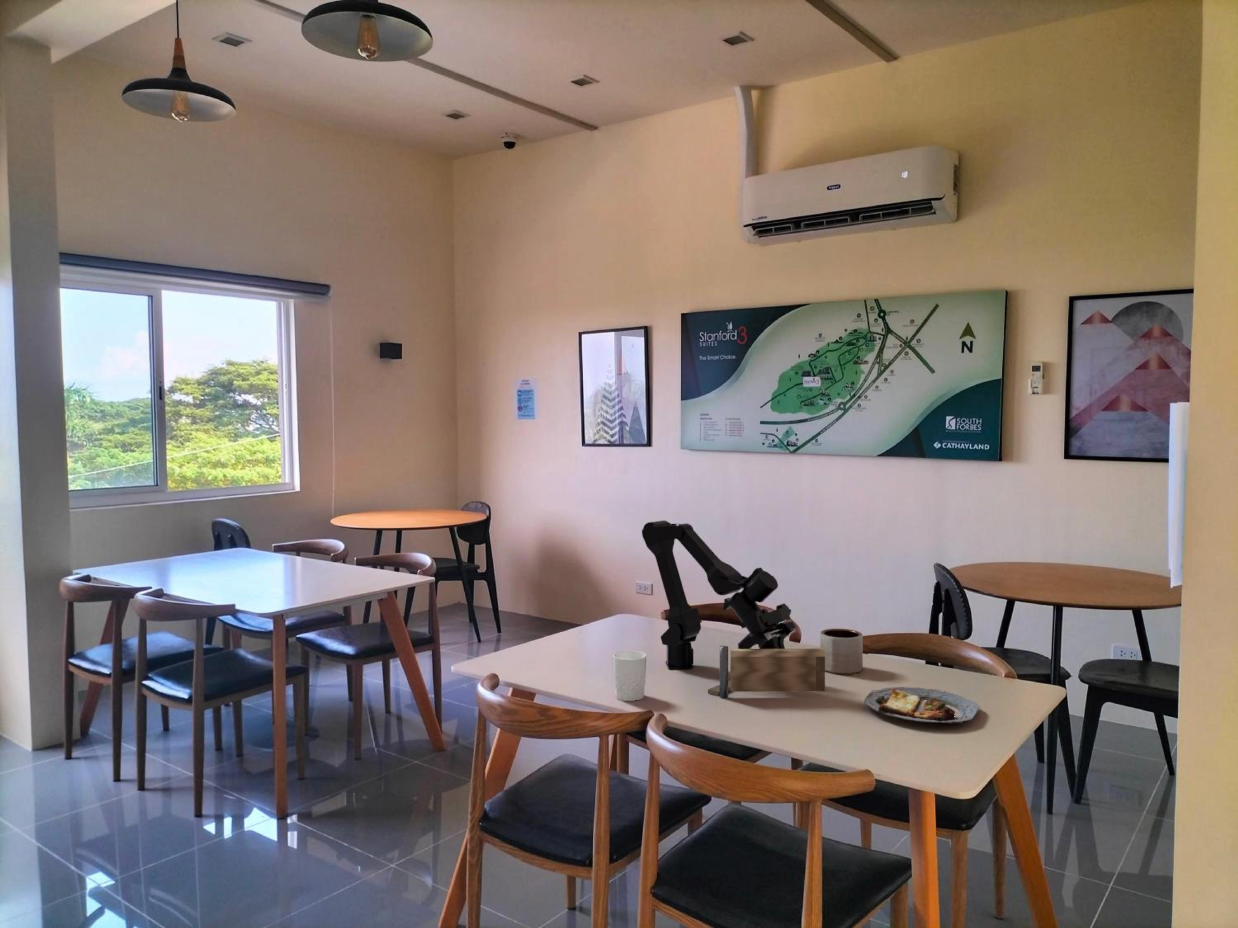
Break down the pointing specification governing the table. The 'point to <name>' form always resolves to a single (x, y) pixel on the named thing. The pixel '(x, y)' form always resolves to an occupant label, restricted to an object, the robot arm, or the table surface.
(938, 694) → the food plate
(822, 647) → the planter
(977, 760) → the table surface
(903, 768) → the table surface
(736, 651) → the gate leaf
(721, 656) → the gate frame
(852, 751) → the table surface
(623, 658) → the white cup
